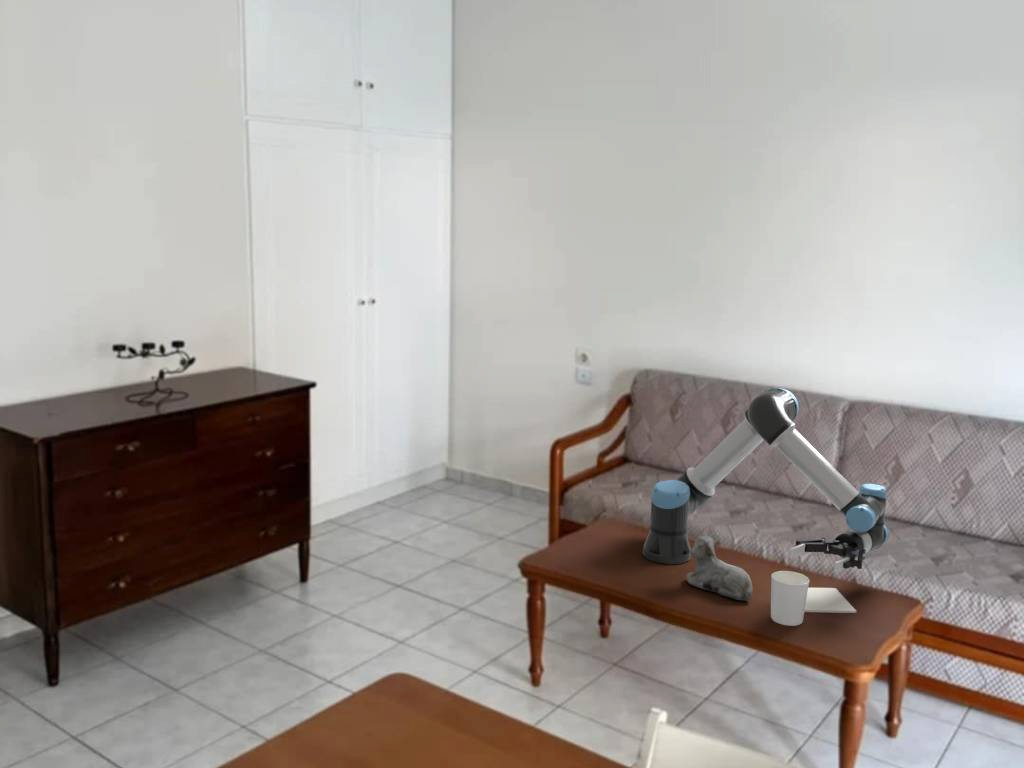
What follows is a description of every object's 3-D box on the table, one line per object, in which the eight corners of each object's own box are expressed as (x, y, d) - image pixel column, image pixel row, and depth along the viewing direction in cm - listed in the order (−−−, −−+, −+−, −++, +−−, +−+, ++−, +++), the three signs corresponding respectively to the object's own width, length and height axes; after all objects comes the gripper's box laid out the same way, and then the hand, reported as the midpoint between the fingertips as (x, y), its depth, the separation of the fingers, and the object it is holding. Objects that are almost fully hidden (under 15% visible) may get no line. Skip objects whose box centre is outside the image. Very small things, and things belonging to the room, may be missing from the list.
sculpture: (689, 577, 281) (693, 529, 278) (759, 593, 271) (763, 543, 268) (677, 589, 272) (680, 540, 269) (749, 606, 262) (753, 555, 259)
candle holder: (768, 609, 259) (771, 568, 257) (805, 614, 257) (809, 573, 254) (767, 624, 250) (771, 581, 248) (805, 629, 247) (809, 586, 245)
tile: (781, 588, 274) (781, 586, 274) (835, 589, 275) (835, 588, 274) (799, 611, 258) (799, 609, 258) (856, 613, 259) (856, 610, 259)
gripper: (892, 568, 262) (853, 587, 248) (812, 544, 281) (772, 560, 267) (895, 543, 261) (856, 560, 247) (814, 520, 279) (774, 535, 265)
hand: (812, 560), depth 257 cm, fingers open, 13 cm apart
